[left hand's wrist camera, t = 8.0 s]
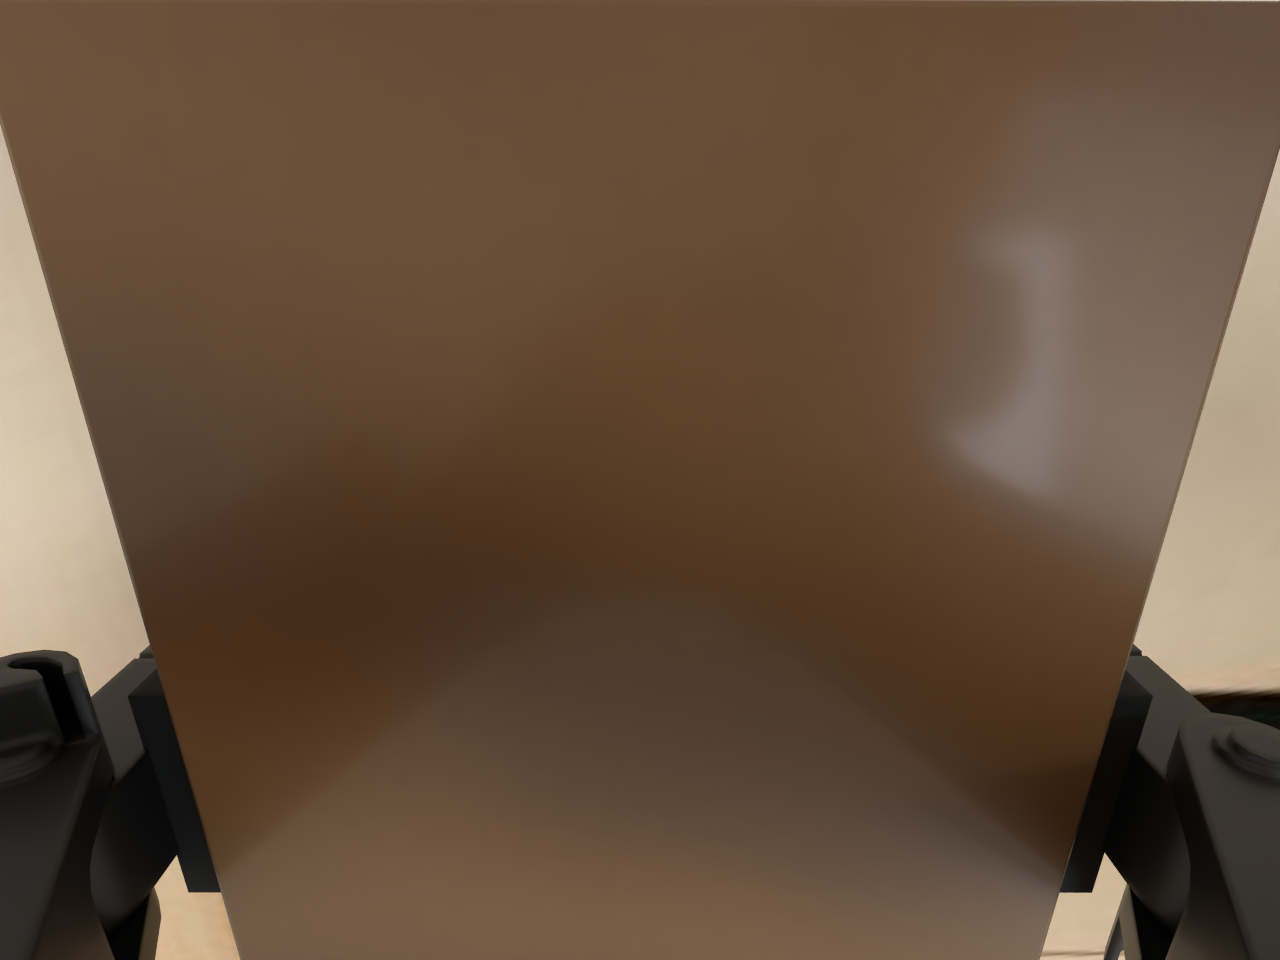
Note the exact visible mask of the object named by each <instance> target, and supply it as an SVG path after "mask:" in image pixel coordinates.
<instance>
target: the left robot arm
mask: <svg viewBox="0 0 1280 960" xmlns="http://www.w3.org/2000/svg"><path fill="white" fill-rule="evenodd" d="M1141 652H1142V651H1141V650H1139V649H1138V648H1137V647H1136V646H1135V645H1134V644H1133V645H1132V649H1131V652H1130V655H1129V659H1128V662H1127V666H1126V669H1125V672H1124V676H1123V679H1122V682H1121V686H1120V689H1119V693H1118V696H1117V699H1116V703H1115V706H1114V709H1113V713H1112V716H1111V720H1110V723H1109V726H1108V730H1107V733H1106V736H1105V740H1104V743H1103V747H1102V750H1101V753H1100V757H1099V760H1098V763H1097V767H1096V770H1095V774H1094V777H1093V780H1092V784H1091V787H1090V790H1089V794H1088V797H1087V801H1086V804H1085V807H1084V811H1083V814H1082V817H1081V821H1080V824H1079V828H1078V831H1077V834H1076V838H1075V841H1074V844H1073V848H1072V851H1071V855H1070V858H1069V861H1068V865H1067V868H1066V871H1065V875H1064V878H1063V882H1062V885H1061V888H1060V892H1073V893H1092V891H1093V887H1094V884H1095V881H1096V878H1097V875H1098V871H1099V868H1100V865H1101V862H1102V859H1103V855H1104V852H1105V853H1106V855H1107V856H1108V858H1109V859H1110V860H1111V862H1112V863H1113V864H1114V866H1115V867H1116V869H1117V870H1118V871H1119V873H1120V874H1121V876H1122V877H1123V878H1124V880H1125V881H1126V882H1127V885H1126V888H1125V891H1124V894H1123V897H1122V900H1121V903H1120V906H1119V909H1118V912H1117V915H1116V918H1115V921H1114V924H1113V927H1112V930H1111V933H1110V936H1109V939H1108V942H1107V945H1106V948H1105V954H1104V960H1118V957H1119V954H1120V952H1121V951H1122V950H1124V953H1125V959H1126V960H1280V730H1278V729H1276V728H1274V727H1271V726H1268V725H1265V724H1262V723H1259V722H1256V721H1252V720H1249V719H1246V718H1243V717H1238V716H1231V715H1225V714H1218V713H1211V712H1210V711H1209V710H1208V709H1206V708H1205V707H1204V706H1203V705H1202V704H1201V703H1200V702H1199V701H1197V700H1196V699H1195V698H1194V697H1193V696H1192V695H1191V694H1189V693H1188V692H1187V691H1186V690H1185V689H1184V688H1183V687H1181V686H1180V685H1179V684H1178V683H1177V682H1176V681H1175V680H1174V679H1172V678H1171V677H1170V676H1169V675H1168V674H1167V673H1166V672H1164V671H1163V670H1162V669H1161V668H1160V667H1159V666H1158V665H1157V664H1155V663H1154V662H1153V661H1152V660H1151V659H1150V658H1149V657H1147V656H1142V654H1141ZM176 855H177V857H178V860H179V863H180V866H181V869H182V873H183V876H184V879H185V882H186V885H187V889H188V892H221V890H220V886H219V883H218V879H217V876H216V872H215V869H214V865H213V862H212V858H211V855H210V851H209V848H208V844H207V841H206V838H205V834H204V831H203V827H202V824H201V820H200V817H199V813H198V810H197V806H196V803H195V799H194V796H193V792H192V789H191V785H190V782H189V778H188V775H187V771H186V768H185V764H184V761H183V758H182V754H181V751H180V747H179V744H178V740H177V737H176V733H175V730H174V726H173V723H172V719H171V716H170V712H169V709H168V705H167V702H166V698H165V695H164V691H163V688H162V684H161V681H160V678H159V674H158V671H157V667H156V664H155V660H154V657H153V653H152V650H151V646H150V645H149V646H148V647H147V648H146V649H145V650H144V651H143V652H141V653H140V657H139V659H133V660H132V661H131V662H130V663H129V664H128V665H127V666H126V667H124V668H123V669H122V670H121V671H120V672H119V673H118V674H117V675H115V676H114V677H113V678H112V679H111V680H110V681H109V682H108V683H106V684H105V685H104V686H103V687H102V688H101V689H100V690H99V691H97V692H96V693H95V694H94V695H93V696H92V697H90V694H89V691H88V688H87V685H86V682H85V679H84V676H83V673H82V670H81V667H80V664H79V661H78V659H77V658H75V657H74V656H72V655H70V654H69V653H67V652H63V651H52V650H39V651H31V652H23V653H16V654H12V655H8V656H5V657H1V658H0V960H155V955H156V948H157V942H158V935H159V928H160V922H161V912H160V905H159V900H158V897H157V894H156V891H155V888H154V886H155V884H156V883H157V882H158V880H159V879H160V877H161V876H162V875H163V873H164V872H165V870H166V869H167V868H168V866H169V865H170V864H171V862H172V861H173V859H174V858H175V857H176Z"/></svg>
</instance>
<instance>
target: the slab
mask: <svg viewBox="0 0 1280 960" xmlns="http://www.w3.org/2000/svg"><path fill="white" fill-rule="evenodd" d="M0 124H1V128H2V131H3V135H4V138H5V142H6V145H7V149H8V152H9V156H10V159H11V163H12V166H13V170H14V173H15V177H16V180H17V184H18V187H19V191H20V194H21V197H22V201H23V204H24V208H25V211H26V215H27V218H28V222H29V225H30V229H31V232H32V236H33V239H34V243H35V246H36V250H37V253H38V257H39V260H40V264H41V267H42V271H43V274H44V277H45V281H46V284H47V288H48V291H49V295H50V298H51V302H52V305H53V309H54V312H55V316H56V319H57V323H58V326H59V330H60V333H61V337H62V340H63V344H64V347H65V351H66V354H67V357H68V361H69V364H70V368H71V371H72V375H73V378H74V382H75V385H76V389H77V392H78V396H79V399H80V403H81V406H82V410H83V413H84V417H85V420H86V424H87V427H88V431H89V434H90V437H91V441H92V444H93V448H94V451H95V455H96V458H97V462H98V465H99V469H100V472H101V476H102V479H103V483H104V486H105V490H106V493H107V497H108V500H109V504H110V507H111V511H112V514H113V517H114V521H115V524H116V528H117V531H118V535H119V538H120V542H121V545H122V549H123V552H124V556H125V559H126V563H127V566H128V570H129V573H130V577H131V580H132V584H133V587H134V591H135V594H136V598H137V601H138V604H139V608H140V611H141V615H142V618H143V622H144V625H145V629H146V632H147V636H148V639H149V643H150V646H151V650H152V653H153V657H154V660H155V664H156V667H157V671H158V674H159V678H160V681H161V684H162V688H163V691H164V695H165V698H166V702H167V705H168V709H169V712H170V716H171V719H172V723H173V726H174V730H175V733H176V737H177V740H178V744H179V747H180V751H181V754H182V758H183V761H184V764H185V768H186V771H187V775H188V778H189V782H190V785H191V789H192V792H193V796H194V799H195V803H196V806H197V810H198V813H199V817H200V820H201V824H202V827H203V831H204V834H205V838H206V841H207V844H208V848H209V851H210V855H211V858H212V862H213V865H214V869H215V872H216V876H217V879H218V883H219V886H220V890H221V893H222V897H223V900H224V904H225V907H226V911H227V914H228V918H229V921H230V924H231V928H232V931H233V935H234V938H235V942H236V945H237V949H238V952H239V956H240V959H241V960H1039V959H1040V956H1041V952H1042V949H1043V946H1044V942H1045V939H1046V936H1047V932H1048V929H1049V925H1050V922H1051V919H1052V915H1053V912H1054V909H1055V905H1056V902H1057V898H1058V895H1059V892H1060V888H1061V885H1062V882H1063V878H1064V875H1065V871H1066V868H1067V865H1068V861H1069V858H1070V855H1071V851H1072V848H1073V844H1074V841H1075V838H1076V834H1077V831H1078V828H1079V824H1080V821H1081V817H1082V814H1083V811H1084V807H1085V804H1086V801H1087V797H1088V794H1089V790H1090V787H1091V784H1092V780H1093V777H1094V774H1095V770H1096V767H1097V763H1098V760H1099V757H1100V753H1101V750H1102V747H1103V743H1104V740H1105V736H1106V733H1107V730H1108V726H1109V723H1110V720H1111V716H1112V713H1113V709H1114V706H1115V703H1116V699H1117V696H1118V693H1119V689H1120V686H1121V682H1122V679H1123V676H1124V672H1125V669H1126V666H1127V662H1128V659H1129V655H1130V652H1131V649H1132V645H1133V642H1134V639H1135V635H1136V632H1137V628H1138V625H1139V622H1140V618H1141V615H1142V612H1143V608H1144V605H1145V601H1146V598H1147V595H1148V591H1149V588H1150V585H1151V581H1152V578H1153V574H1154V571H1155V568H1156V564H1157V561H1158V558H1159V554H1160V551H1161V547H1162V544H1163V541H1164V537H1165V534H1166V531H1167V527H1168V524H1169V520H1170V517H1171V514H1172V510H1173V507H1174V504H1175V500H1176V497H1177V493H1178V490H1179V487H1180V483H1181V480H1182V477H1183V473H1184V470H1185V466H1186V463H1187V460H1188V456H1189V453H1190V450H1191V446H1192V443H1193V439H1194V436H1195V433H1196V429H1197V426H1198V423H1199V419H1200V416H1201V412H1202V409H1203V406H1204V402H1205V399H1206V396H1207V392H1208V389H1209V385H1210V382H1211V379H1212V375H1213V372H1214V369H1215V365H1216V362H1217V358H1218V355H1219V352H1220V348H1221V345H1222V342H1223V338H1224V335H1225V331H1226V328H1227V325H1228V321H1229V318H1230V315H1231V311H1232V308H1233V304H1234V301H1235V298H1236V294H1237V291H1238V288H1239V284H1240V281H1241V277H1242V274H1243V271H1244V267H1245V264H1246V261H1247V257H1248V254H1249V250H1250V247H1251V244H1252V240H1253V237H1254V234H1255V230H1256V227H1257V223H1258V220H1259V217H1260V213H1261V210H1262V207H1263V203H1264V200H1265V196H1266V193H1267V190H1268V186H1269V183H1270V180H1271V176H1272V173H1273V169H1274V166H1275V163H1276V159H1277V156H1278V153H1279V149H1280V1H1152V0H0Z"/></svg>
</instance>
